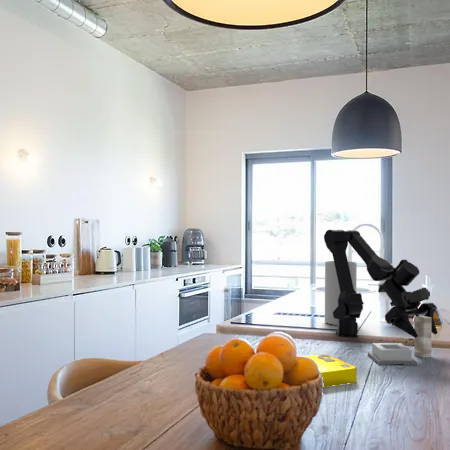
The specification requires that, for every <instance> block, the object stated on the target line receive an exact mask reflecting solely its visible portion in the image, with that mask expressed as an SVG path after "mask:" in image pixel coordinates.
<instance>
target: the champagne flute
mask: <svg viewBox="0 0 450 450" xmlns="http://www.w3.org/2000/svg"><path fill="white" fill-rule="evenodd" d="M390 264H391V265H392V266H393V268H395V265H394V263H390ZM385 281H386V280H385ZM385 281H379V285H380V284H383V283H384V282H385ZM380 294H381V296H383V297H384V298H385V315H386V314H387V313H388V311H389V310H390V298H389V297H388V295H387V294H386V292H380ZM379 322H381V323H387V322H386V320H385V316H384V317H382V318H380V319H379ZM387 324H388V323H387Z"/></svg>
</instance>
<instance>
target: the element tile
mask: <svg viewBox="0 0 450 450" xmlns="http://www.w3.org/2000/svg"><path fill="white" fill-rule="evenodd" d="M302 357H308V358H311V359H312V360H314V362H315V363H316V364H317V366H318V369H319V371H320V372H321V374H322V377H323V383H324V387H326V388H328V387H327V386H332V385H340V384H347V383H354V382H356V381H358V379H357V377H358V376H357V375H358V372H357V371H358V369H357V366H355V365H353V364H350V362H349V363H348V362H346V361H343V360H341V359H339V358H337V357H334V356H332V355H330V354H326V353H325V354H314V355H305V356H303V355H302ZM356 383H357V382H356ZM354 384H355V383H354ZM340 386H341V385H340Z"/></svg>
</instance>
